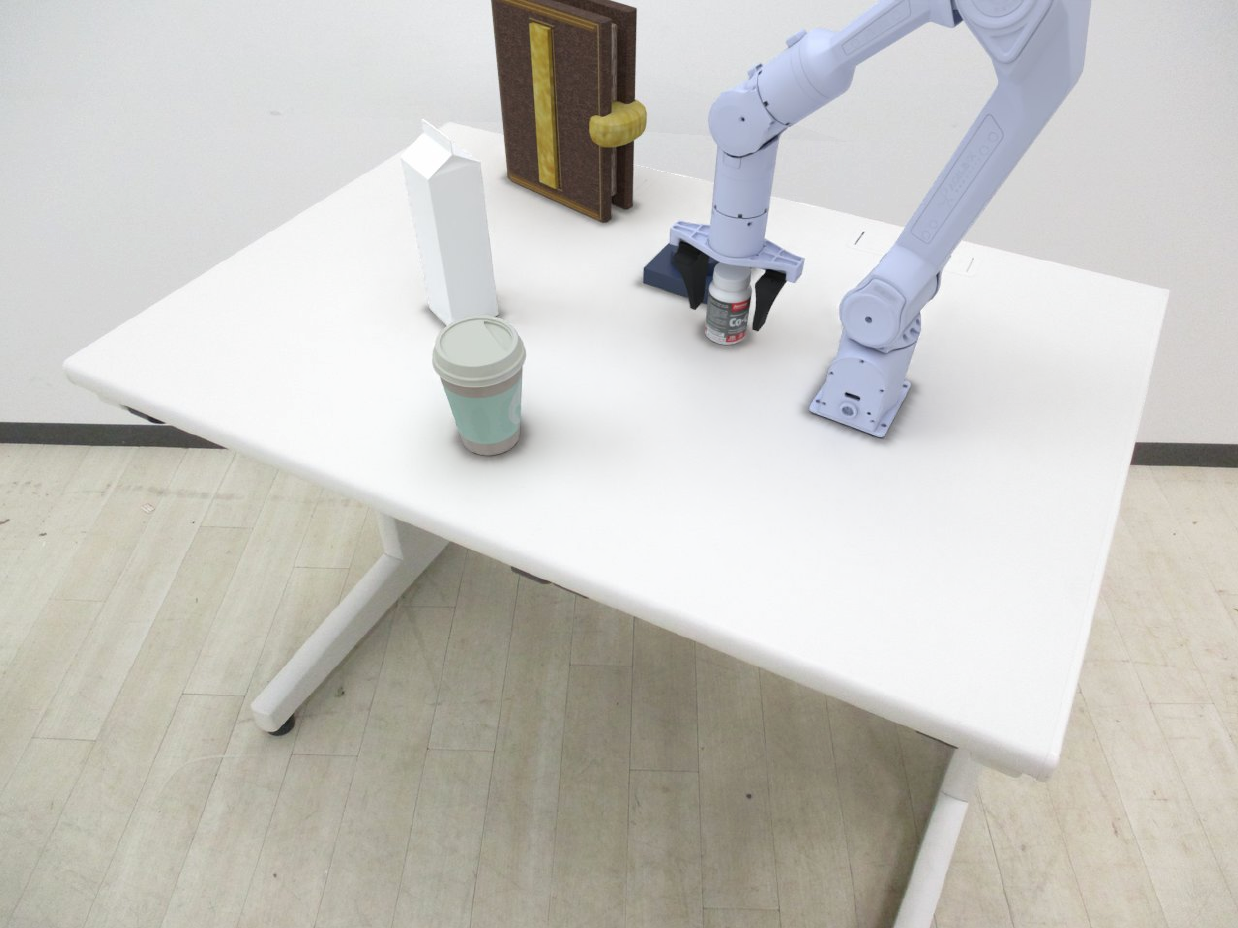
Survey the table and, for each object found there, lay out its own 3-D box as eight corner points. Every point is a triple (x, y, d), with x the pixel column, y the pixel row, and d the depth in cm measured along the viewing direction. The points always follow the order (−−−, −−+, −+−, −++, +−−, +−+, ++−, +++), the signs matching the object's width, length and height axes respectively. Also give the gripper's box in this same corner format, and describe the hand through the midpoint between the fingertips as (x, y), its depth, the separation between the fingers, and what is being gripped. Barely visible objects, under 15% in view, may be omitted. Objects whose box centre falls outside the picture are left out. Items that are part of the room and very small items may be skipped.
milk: (454, 334, 96) (421, 149, 80) (428, 309, 99) (392, 126, 83) (500, 315, 99) (477, 131, 83) (473, 290, 102) (447, 109, 86)
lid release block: (716, 308, 100) (719, 279, 97) (642, 283, 103) (643, 254, 100) (758, 259, 107) (762, 231, 104) (687, 237, 110) (690, 210, 108)
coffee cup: (529, 466, 82) (519, 371, 73) (441, 465, 82) (420, 369, 73) (537, 407, 88) (528, 312, 79) (455, 405, 88) (437, 310, 79)
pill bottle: (731, 351, 94) (740, 288, 88) (696, 335, 96) (702, 272, 90) (753, 330, 97) (763, 268, 91) (718, 315, 99) (725, 253, 93)
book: (496, 180, 121) (476, -12, 103) (538, 158, 125) (526, -29, 107) (614, 234, 111) (615, 32, 93) (654, 208, 115) (663, 11, 97)
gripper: (823, 205, 84) (801, 316, 94) (694, 169, 90) (686, 278, 99) (796, 238, 80) (776, 351, 90) (662, 198, 85) (657, 309, 95)
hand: (727, 315), depth 94 cm, fingers open, 7 cm apart
